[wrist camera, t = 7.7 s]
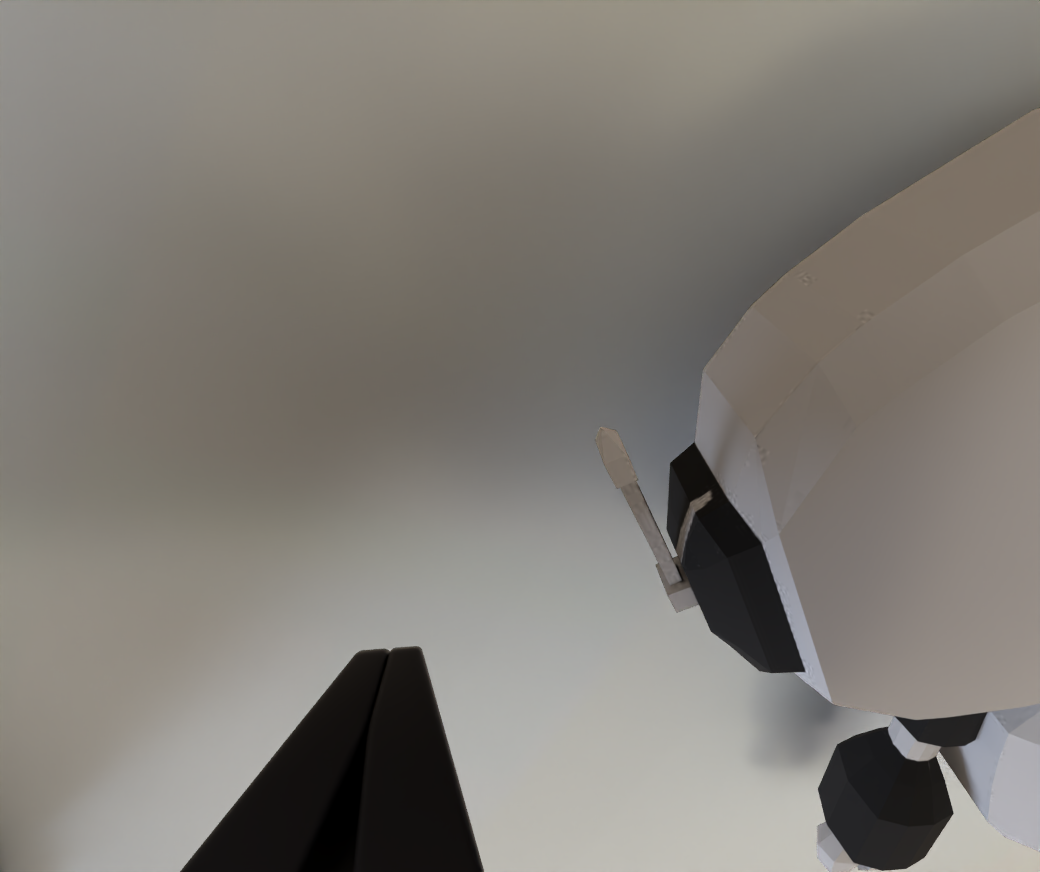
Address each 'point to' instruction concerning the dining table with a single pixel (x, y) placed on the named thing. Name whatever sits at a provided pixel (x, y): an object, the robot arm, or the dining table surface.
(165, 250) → the dining table surface
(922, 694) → the robot toy
